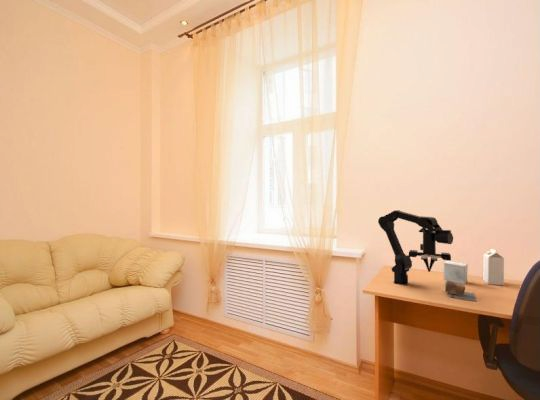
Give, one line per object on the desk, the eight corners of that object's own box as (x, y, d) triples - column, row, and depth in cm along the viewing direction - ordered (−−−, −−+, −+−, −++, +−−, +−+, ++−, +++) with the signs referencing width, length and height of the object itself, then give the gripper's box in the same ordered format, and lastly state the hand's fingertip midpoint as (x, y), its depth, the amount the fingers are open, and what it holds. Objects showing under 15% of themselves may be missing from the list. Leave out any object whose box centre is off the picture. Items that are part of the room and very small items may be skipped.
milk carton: (497, 281, 158) (498, 248, 158) (503, 285, 151) (504, 250, 151) (483, 280, 160) (483, 247, 160) (488, 284, 154) (488, 250, 153)
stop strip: (448, 297, 135) (448, 295, 135) (447, 289, 145) (447, 288, 145) (451, 297, 134) (451, 295, 134) (450, 290, 144) (450, 288, 144)
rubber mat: (453, 297, 134) (453, 297, 134) (452, 290, 144) (452, 290, 144) (476, 301, 129) (476, 301, 129) (473, 293, 139) (473, 293, 139)
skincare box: (443, 280, 162) (443, 262, 162) (446, 277, 166) (446, 260, 166) (464, 284, 154) (464, 265, 154) (467, 282, 158) (467, 263, 158)
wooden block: (446, 282, 138) (465, 287, 134) (445, 280, 142) (464, 285, 138) (444, 291, 139) (463, 296, 135) (443, 288, 143) (462, 293, 139)
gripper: (449, 240, 146) (449, 270, 146) (410, 238, 155) (410, 265, 156) (450, 243, 136) (450, 275, 136) (408, 241, 146) (408, 270, 146)
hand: (429, 271), depth 144 cm, fingers closed
